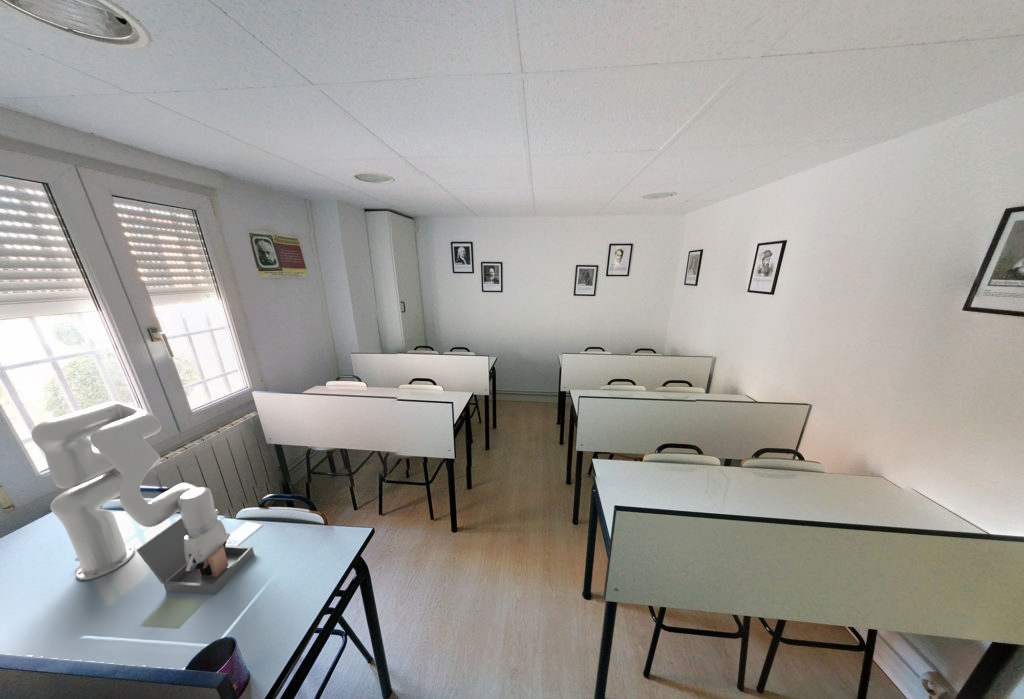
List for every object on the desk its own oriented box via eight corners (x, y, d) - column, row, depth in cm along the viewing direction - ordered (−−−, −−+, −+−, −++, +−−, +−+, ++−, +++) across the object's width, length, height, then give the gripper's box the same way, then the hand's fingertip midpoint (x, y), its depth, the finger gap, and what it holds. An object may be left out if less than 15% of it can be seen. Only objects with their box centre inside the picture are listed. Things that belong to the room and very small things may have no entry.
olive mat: (139, 627, 90) (139, 625, 90) (170, 599, 98) (169, 597, 98) (179, 630, 90) (178, 628, 90) (206, 601, 98) (206, 600, 97)
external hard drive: (263, 528, 126) (231, 554, 114) (247, 524, 127) (213, 550, 116) (262, 524, 125) (230, 551, 114) (246, 521, 127) (212, 546, 115)
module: (200, 575, 104) (194, 556, 102) (211, 564, 108) (206, 546, 106) (217, 576, 104) (212, 558, 102) (228, 565, 108) (223, 547, 106)
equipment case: (151, 591, 100) (135, 549, 96) (197, 551, 114) (186, 512, 110) (215, 596, 99) (203, 553, 95) (254, 555, 113) (245, 516, 109)
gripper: (215, 504, 110) (226, 546, 114) (162, 545, 93) (176, 592, 98) (236, 506, 109) (245, 547, 114) (185, 547, 93) (199, 593, 98)
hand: (213, 567), depth 106 cm, fingers closed on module, 4 cm apart
